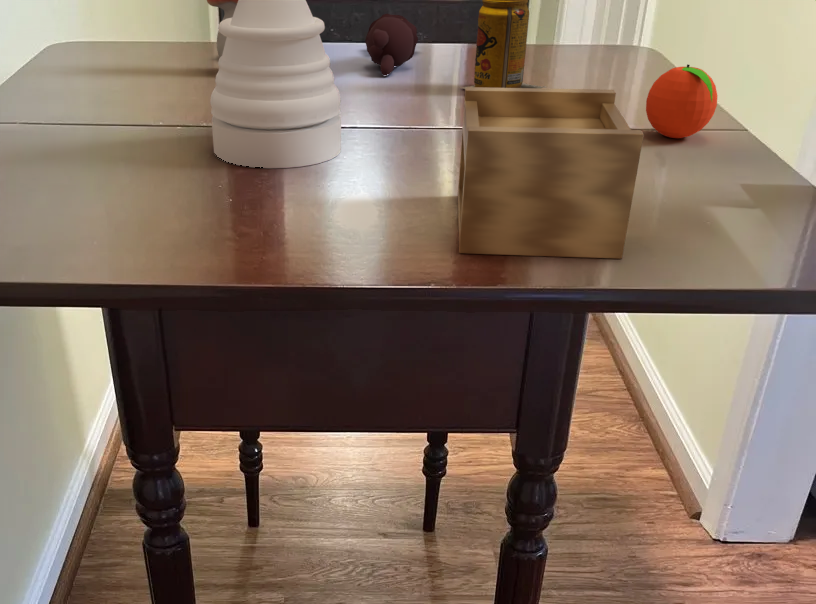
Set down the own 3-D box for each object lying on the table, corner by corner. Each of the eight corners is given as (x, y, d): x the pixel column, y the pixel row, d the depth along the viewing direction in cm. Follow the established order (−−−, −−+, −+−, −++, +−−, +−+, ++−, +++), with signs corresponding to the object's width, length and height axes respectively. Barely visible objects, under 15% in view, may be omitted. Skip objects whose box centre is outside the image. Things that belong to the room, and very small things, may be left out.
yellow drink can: (458, 89, 116) (465, -18, 110) (506, 80, 120) (515, -23, 114) (500, 99, 111) (510, -12, 105) (548, 89, 116) (560, -18, 109)
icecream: (370, 8, 131) (346, 35, 120) (420, -5, 129) (401, 21, 117) (381, 58, 135) (360, 89, 124) (430, 46, 132) (413, 77, 121)
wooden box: (597, 199, 80) (613, 89, 75) (622, 259, 68) (644, 134, 63) (457, 195, 81) (465, 87, 76) (459, 253, 69) (467, 130, 64)
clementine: (730, 144, 94) (747, 70, 90) (674, 151, 92) (688, 76, 88) (681, 126, 100) (694, 56, 96) (626, 132, 98) (638, 60, 94)
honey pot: (240, 175, 86) (226, -44, 76) (197, 142, 96) (180, -56, 86) (363, 157, 91) (365, -51, 81) (310, 128, 100) (306, -61, 90)
